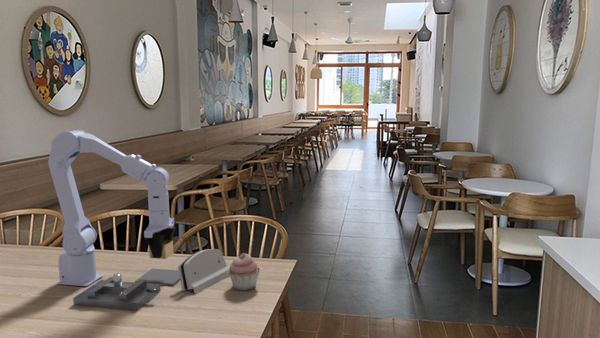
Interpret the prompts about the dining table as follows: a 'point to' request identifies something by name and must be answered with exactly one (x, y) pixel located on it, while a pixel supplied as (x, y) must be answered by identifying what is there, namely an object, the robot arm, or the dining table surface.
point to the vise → (118, 294)
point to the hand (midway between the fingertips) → (161, 254)
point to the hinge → (202, 270)
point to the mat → (161, 277)
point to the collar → (165, 249)
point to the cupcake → (244, 272)
